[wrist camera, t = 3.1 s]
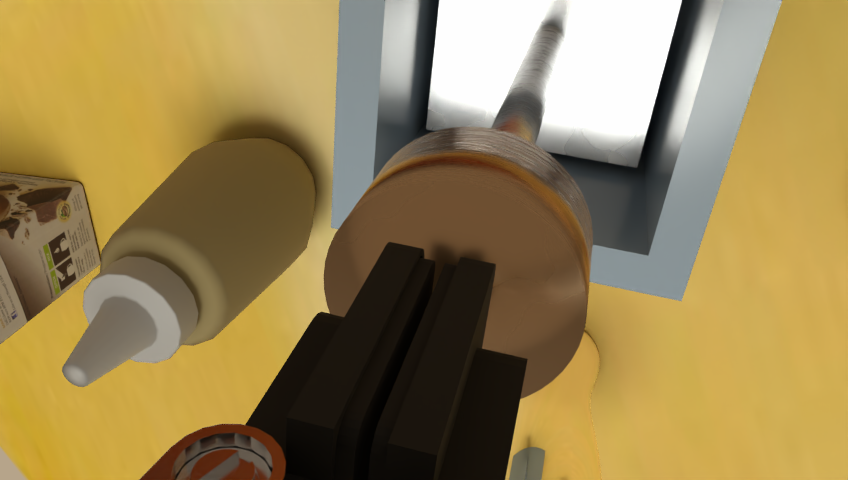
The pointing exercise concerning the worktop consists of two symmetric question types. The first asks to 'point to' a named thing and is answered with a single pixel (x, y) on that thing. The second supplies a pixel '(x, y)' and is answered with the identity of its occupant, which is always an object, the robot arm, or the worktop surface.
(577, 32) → the plunger
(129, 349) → the squeeze bottle
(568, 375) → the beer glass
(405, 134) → the gray square open container
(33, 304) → the coffee box
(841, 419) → the worktop surface
